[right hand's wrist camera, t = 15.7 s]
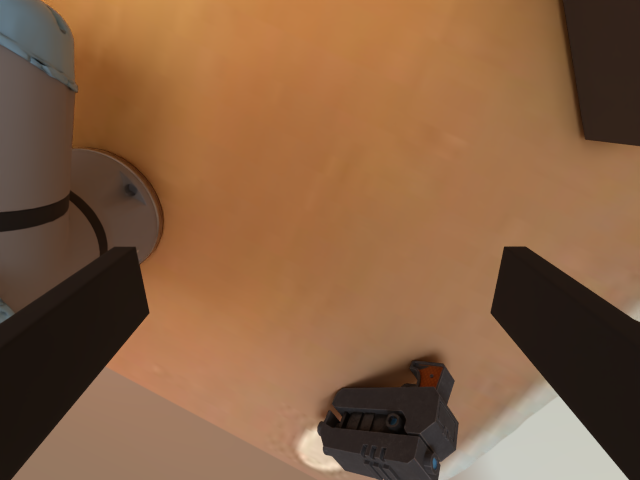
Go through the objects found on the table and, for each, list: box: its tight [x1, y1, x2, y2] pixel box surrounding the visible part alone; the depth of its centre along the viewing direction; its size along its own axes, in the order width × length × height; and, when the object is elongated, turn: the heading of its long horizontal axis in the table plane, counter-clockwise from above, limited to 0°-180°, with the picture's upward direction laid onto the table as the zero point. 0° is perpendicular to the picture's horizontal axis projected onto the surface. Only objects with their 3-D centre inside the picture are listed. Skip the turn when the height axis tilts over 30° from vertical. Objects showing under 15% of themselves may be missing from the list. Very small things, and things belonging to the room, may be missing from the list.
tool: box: [317, 361, 459, 480], centre depth 47 cm, size 6×19×15 cm, turn 123°
